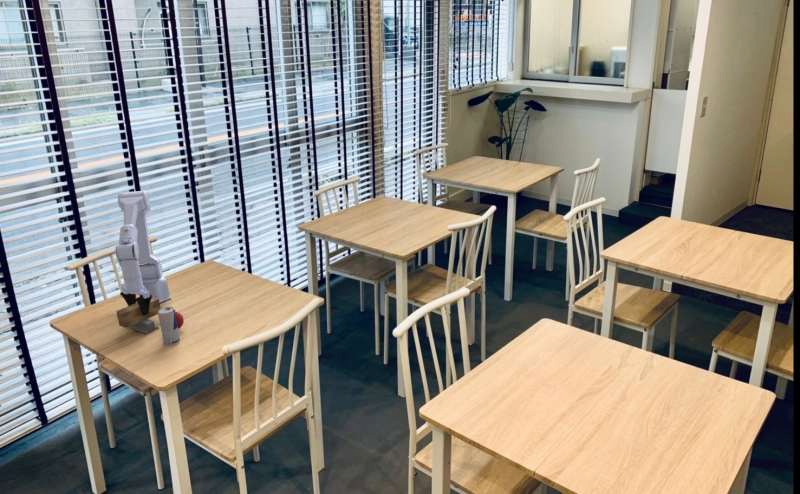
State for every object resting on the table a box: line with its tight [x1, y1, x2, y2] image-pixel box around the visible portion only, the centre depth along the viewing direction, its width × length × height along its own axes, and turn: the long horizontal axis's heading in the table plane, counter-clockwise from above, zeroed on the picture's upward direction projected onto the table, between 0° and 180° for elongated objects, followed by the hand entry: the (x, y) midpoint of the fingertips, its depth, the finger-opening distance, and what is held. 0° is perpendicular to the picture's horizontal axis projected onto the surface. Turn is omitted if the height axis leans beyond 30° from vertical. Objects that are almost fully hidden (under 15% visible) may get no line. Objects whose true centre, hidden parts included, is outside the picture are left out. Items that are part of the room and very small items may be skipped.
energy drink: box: [158, 306, 181, 346], centre depth 212 cm, size 5×5×12 cm
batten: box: [116, 297, 161, 329], centre depth 224 cm, size 14×4×6 cm, turn 143°
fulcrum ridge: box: [129, 318, 159, 335], centre depth 225 cm, size 5×12×3 cm, turn 54°
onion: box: [175, 311, 185, 330], centre depth 221 cm, size 6×6×8 cm
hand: (139, 311), depth 224 cm, fingers open, 7 cm apart
